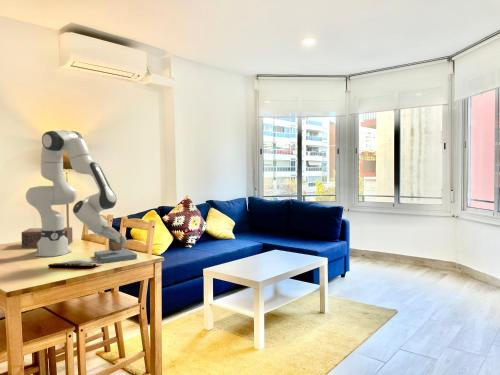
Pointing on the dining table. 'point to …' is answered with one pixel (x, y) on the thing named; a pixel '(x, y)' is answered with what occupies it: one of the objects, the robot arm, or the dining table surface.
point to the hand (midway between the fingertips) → (116, 241)
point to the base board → (115, 255)
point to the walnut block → (115, 244)
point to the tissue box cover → (34, 235)
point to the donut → (123, 240)
